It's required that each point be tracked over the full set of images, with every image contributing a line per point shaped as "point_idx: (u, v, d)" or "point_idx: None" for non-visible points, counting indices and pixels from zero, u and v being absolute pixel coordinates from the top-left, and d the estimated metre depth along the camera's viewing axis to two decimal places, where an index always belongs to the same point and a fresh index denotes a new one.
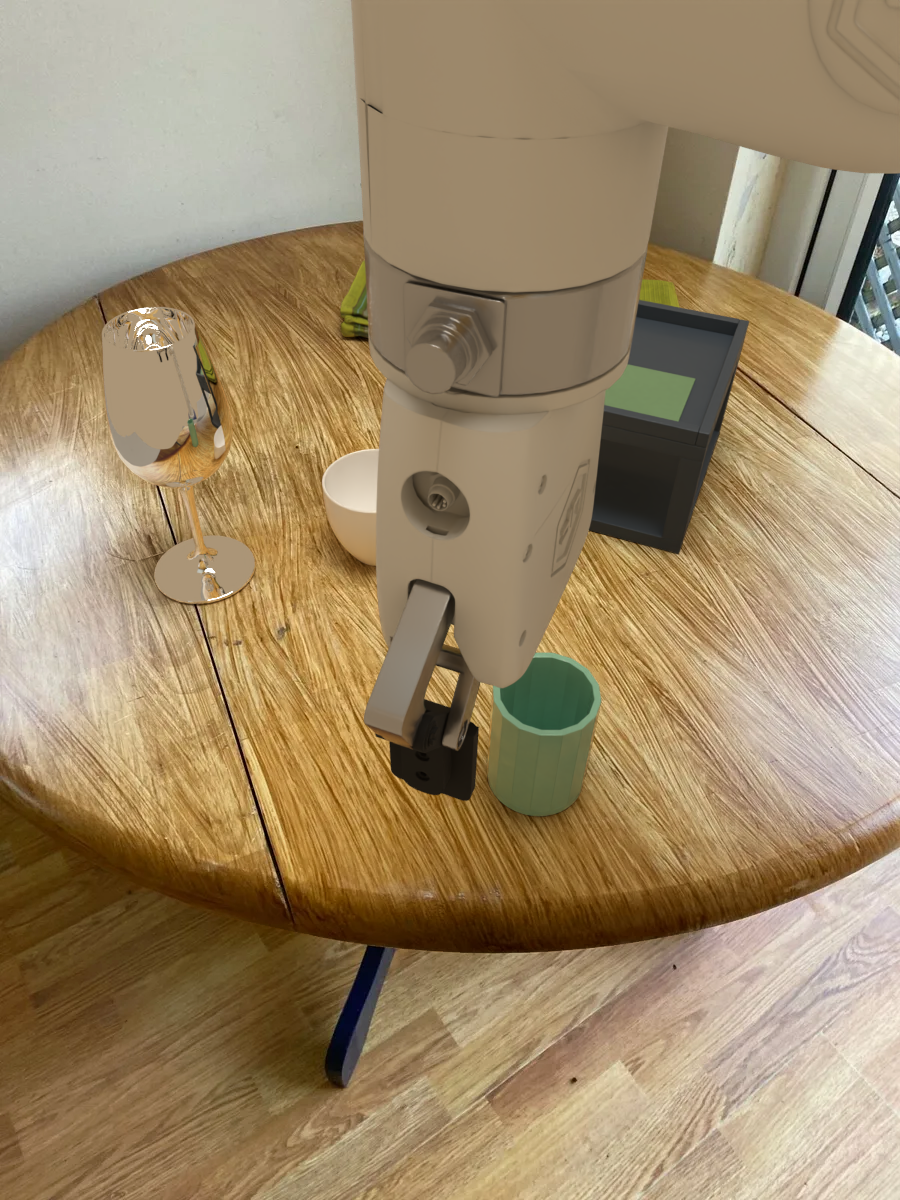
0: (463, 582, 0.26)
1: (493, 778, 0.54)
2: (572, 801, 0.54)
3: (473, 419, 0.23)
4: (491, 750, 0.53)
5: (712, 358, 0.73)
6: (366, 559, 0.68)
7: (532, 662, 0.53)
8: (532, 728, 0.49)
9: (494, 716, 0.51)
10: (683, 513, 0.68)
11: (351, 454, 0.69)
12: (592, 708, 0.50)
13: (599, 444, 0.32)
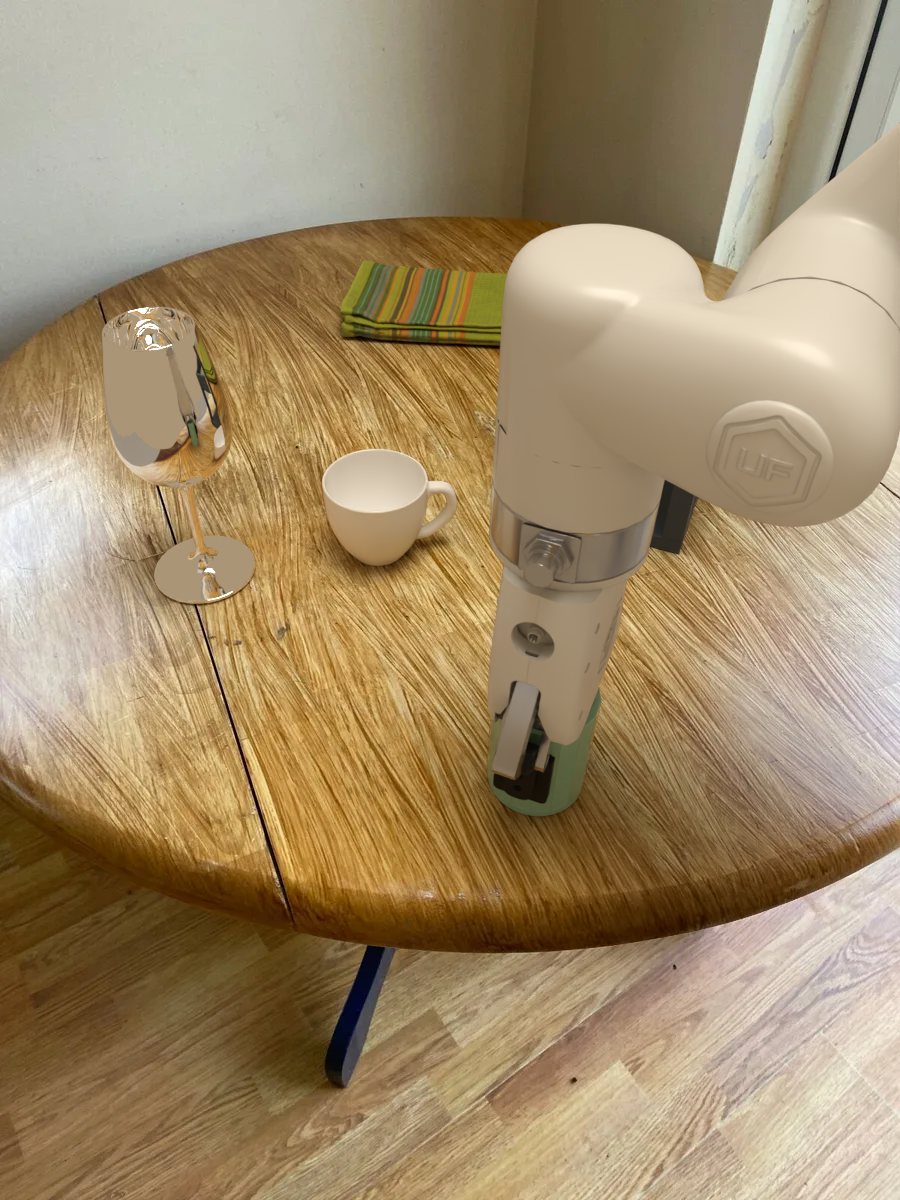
0: (547, 684, 0.42)
1: None
2: (572, 801, 0.54)
3: (558, 595, 0.40)
4: (491, 750, 0.53)
5: None
6: (366, 560, 0.68)
7: None
8: (532, 728, 0.49)
9: None
10: (683, 513, 0.68)
11: (351, 454, 0.69)
12: (592, 708, 0.50)
13: None
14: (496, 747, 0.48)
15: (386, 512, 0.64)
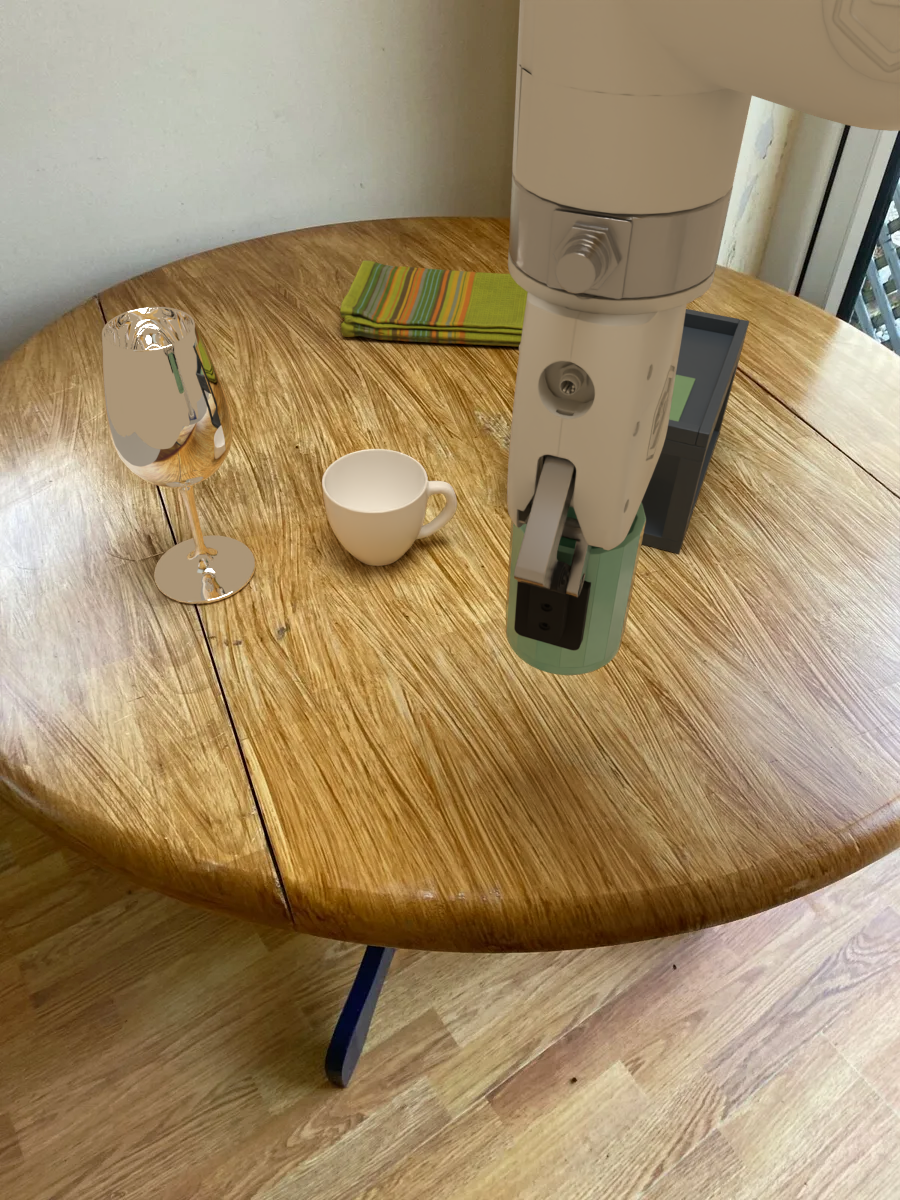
0: (585, 454, 0.33)
1: (513, 630, 0.45)
2: (609, 658, 0.45)
3: (600, 318, 0.31)
4: (511, 592, 0.44)
5: (712, 358, 0.73)
6: (366, 560, 0.68)
7: None
8: (562, 547, 0.40)
9: (514, 542, 0.42)
10: (683, 513, 0.68)
11: (351, 454, 0.69)
12: (635, 526, 0.40)
13: None
14: None
15: (386, 512, 0.64)
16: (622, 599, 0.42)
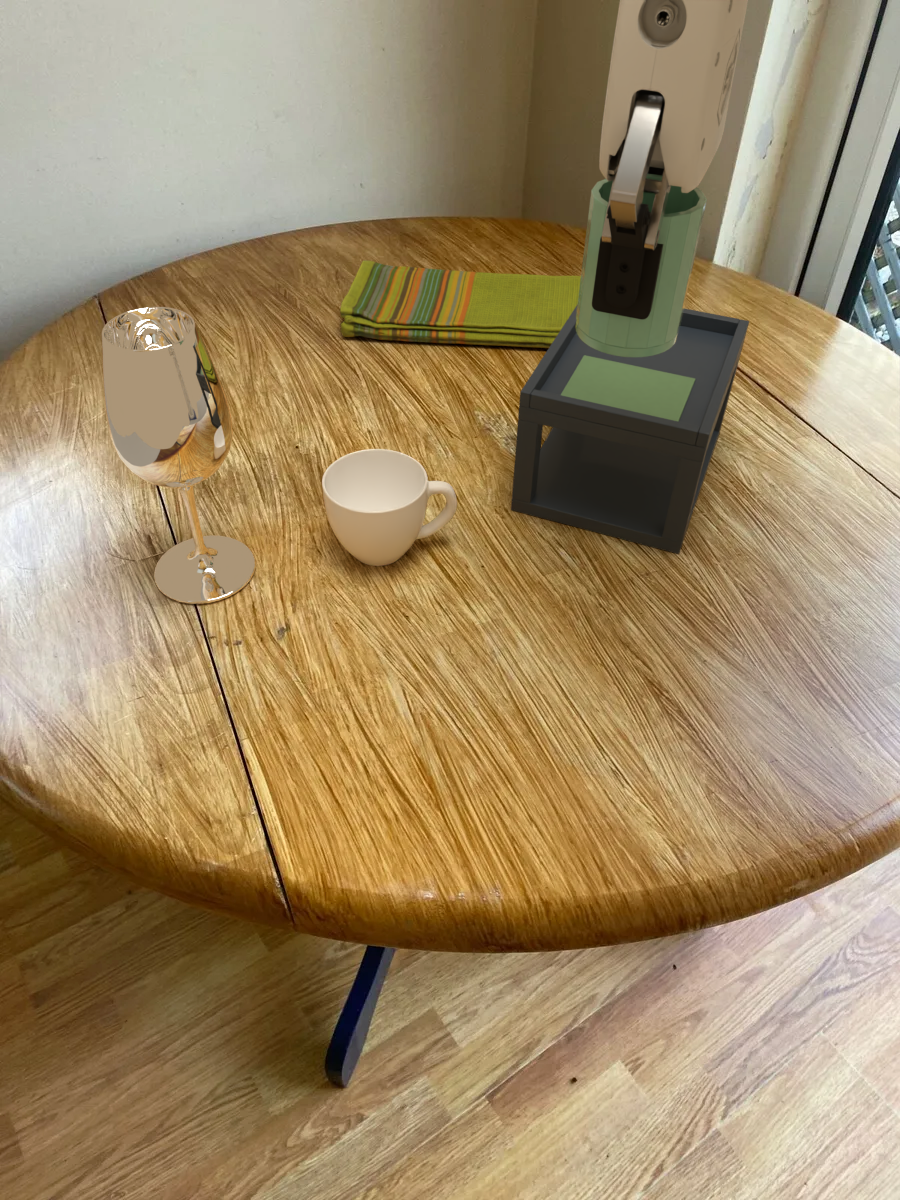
0: (673, 84, 0.40)
1: (586, 319, 0.52)
2: (668, 345, 0.52)
3: None
4: (586, 279, 0.51)
5: (712, 358, 0.73)
6: (366, 560, 0.68)
7: None
8: None
9: (594, 221, 0.48)
10: (683, 513, 0.68)
11: (351, 454, 0.69)
12: (698, 202, 0.47)
13: None
14: (604, 224, 0.46)
15: (386, 512, 0.64)
16: (684, 277, 0.49)
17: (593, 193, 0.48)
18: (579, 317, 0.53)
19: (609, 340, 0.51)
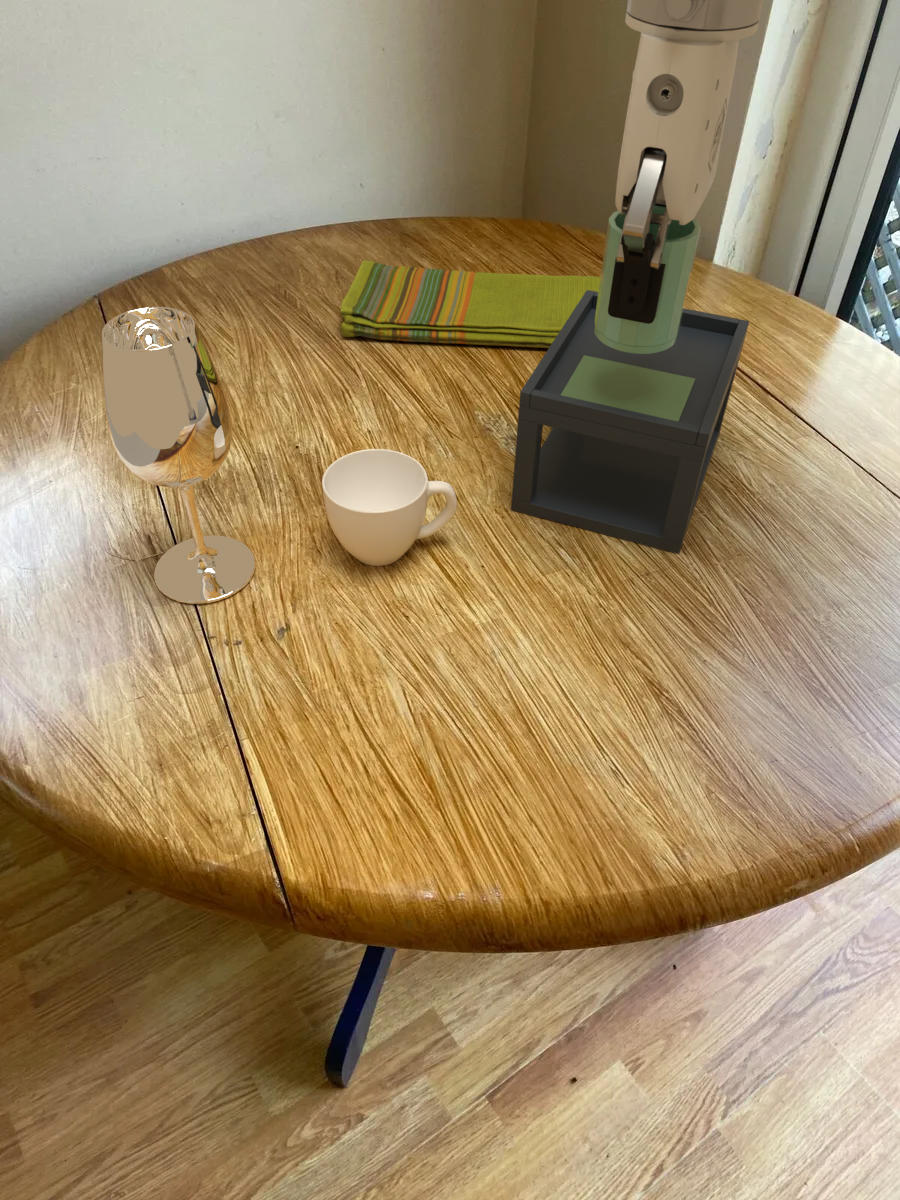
0: (673, 143, 0.52)
1: (603, 322, 0.64)
2: (669, 344, 0.64)
3: (689, 43, 0.49)
4: (603, 290, 0.63)
5: (712, 358, 0.73)
6: (366, 560, 0.68)
7: None
8: None
9: (610, 244, 0.60)
10: (683, 513, 0.68)
11: (351, 454, 0.69)
12: (694, 230, 0.59)
13: None
14: (618, 248, 0.58)
15: (386, 512, 0.64)
16: (682, 290, 0.61)
17: (610, 222, 0.60)
18: (597, 321, 0.65)
19: (621, 340, 0.63)
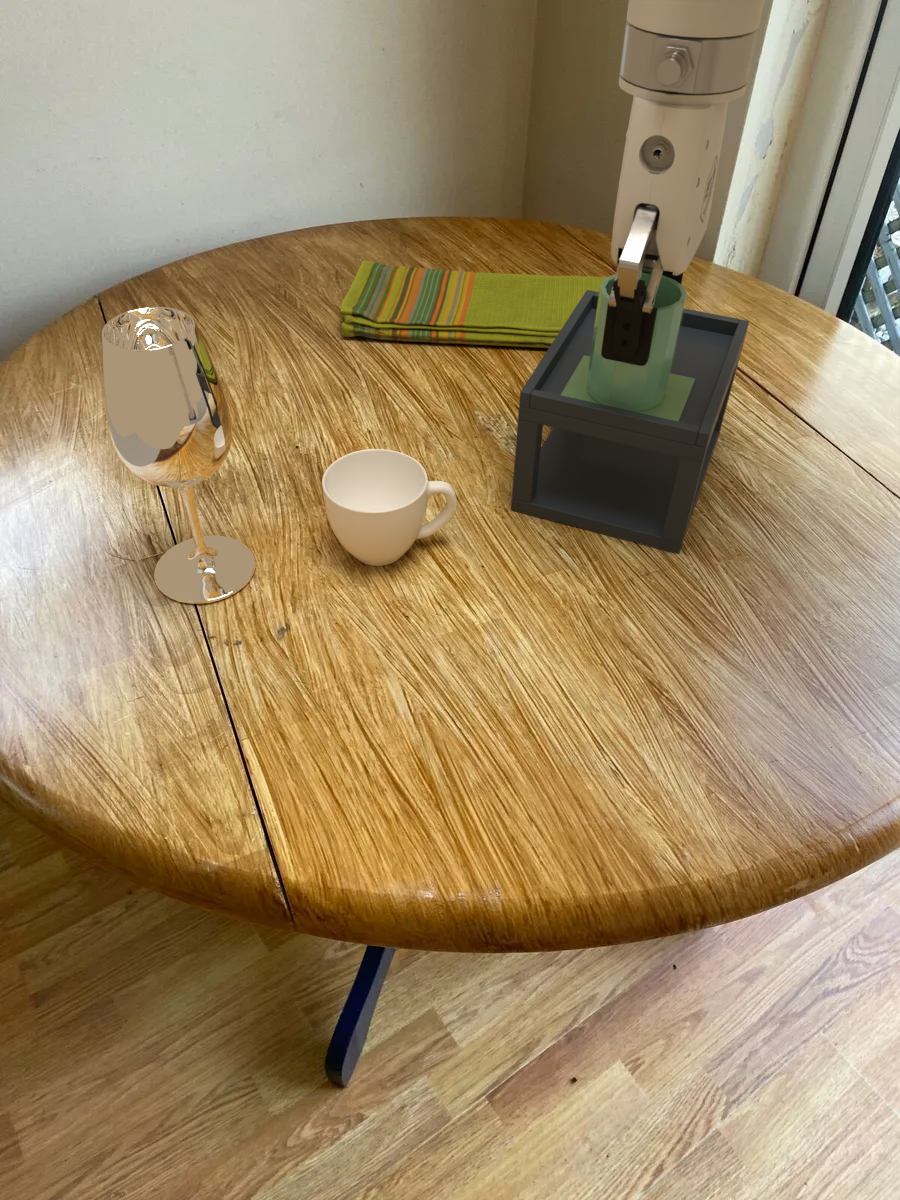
0: (665, 200, 0.54)
1: (595, 381, 0.67)
2: (658, 402, 0.67)
3: (679, 106, 0.52)
4: (595, 352, 0.66)
5: (712, 358, 0.73)
6: (366, 559, 0.68)
7: None
8: None
9: (601, 310, 0.64)
10: (683, 513, 0.68)
11: (351, 454, 0.69)
12: (681, 298, 0.63)
13: None
14: (611, 290, 0.58)
15: (386, 512, 0.64)
16: (670, 352, 0.65)
17: (601, 289, 0.64)
18: (589, 379, 0.68)
19: (612, 398, 0.67)
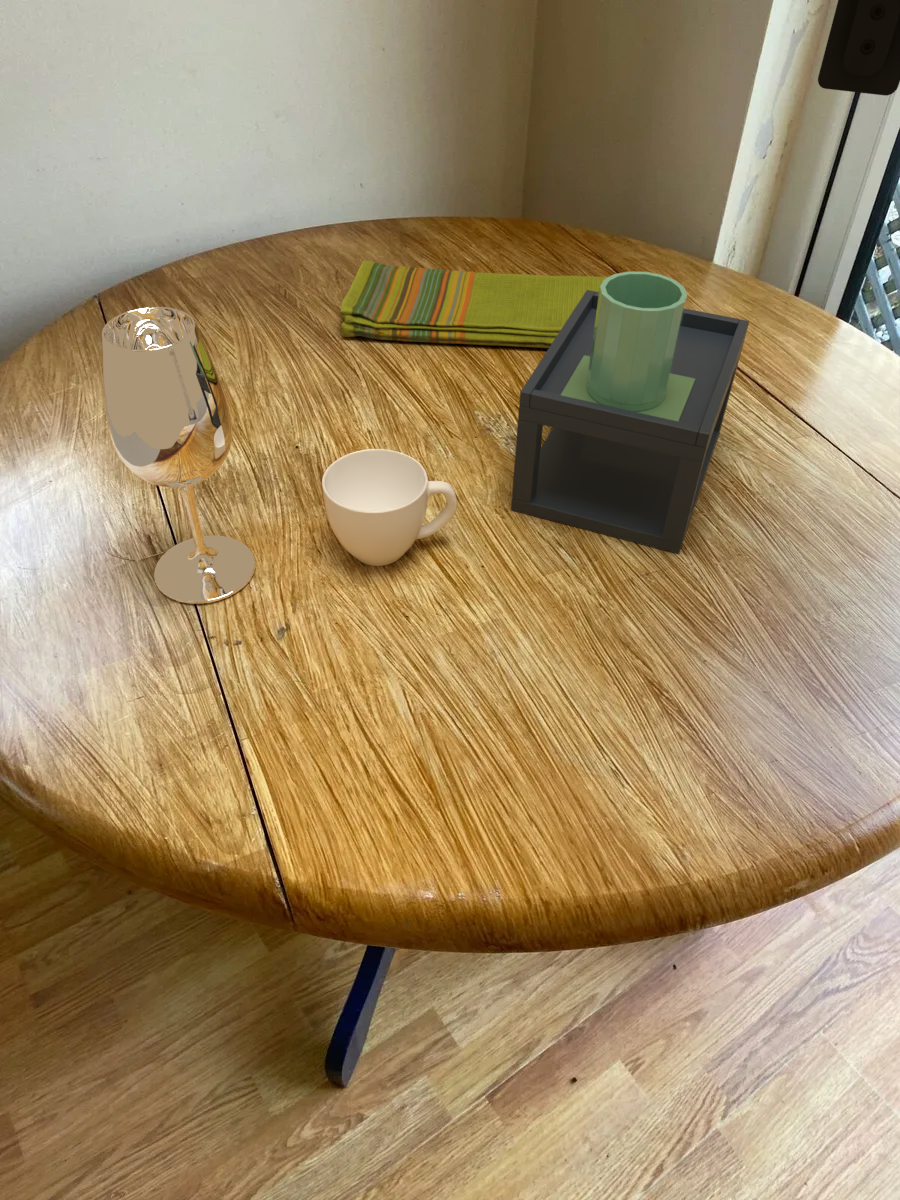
0: None
1: (595, 381, 0.67)
2: (658, 402, 0.67)
3: None
4: (595, 352, 0.66)
5: (712, 358, 0.73)
6: (366, 560, 0.68)
7: (628, 279, 0.66)
8: (635, 307, 0.62)
9: (601, 310, 0.64)
10: (683, 513, 0.68)
11: (351, 454, 0.69)
12: (681, 298, 0.63)
13: None
14: None
15: (386, 512, 0.64)
16: (670, 352, 0.65)
17: (601, 289, 0.64)
18: (589, 379, 0.68)
19: (612, 398, 0.67)
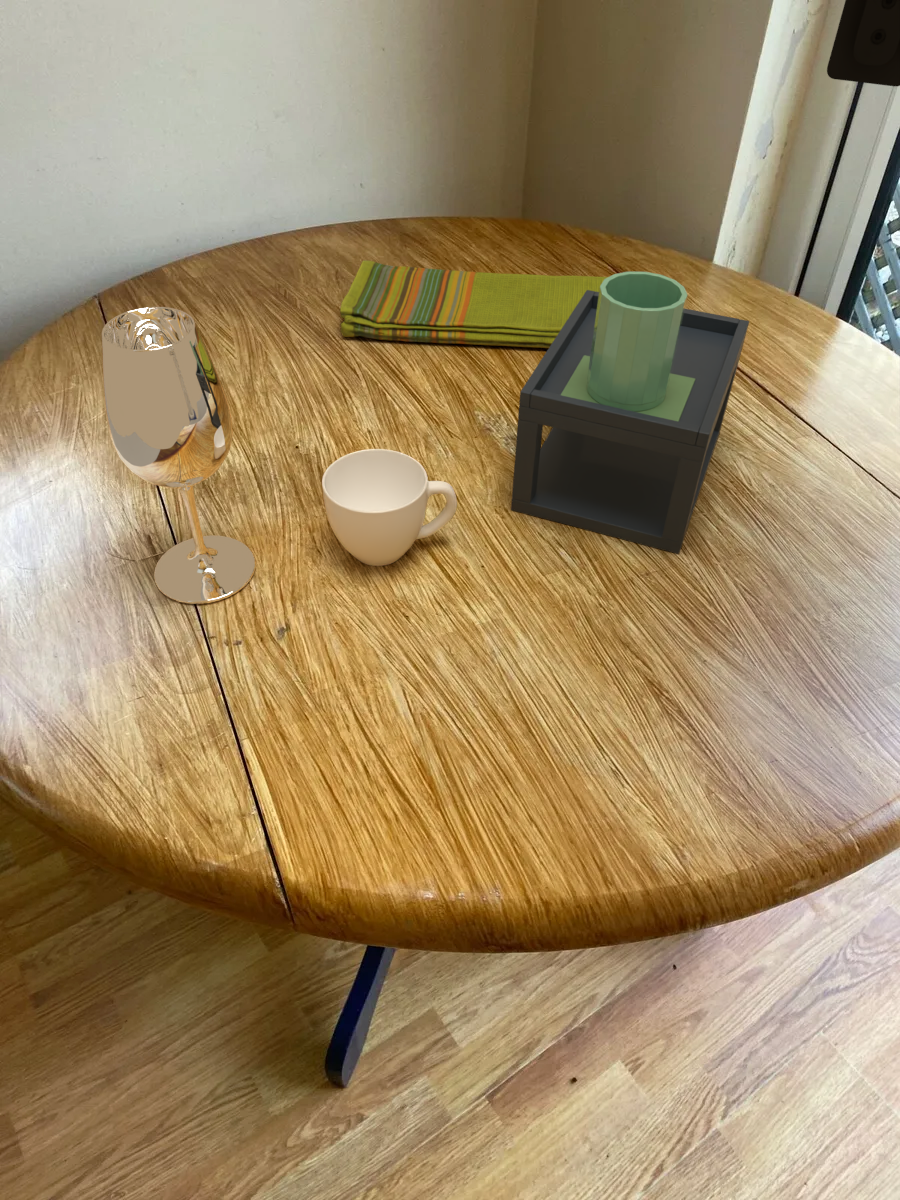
0: None
1: (595, 381, 0.67)
2: (658, 402, 0.67)
3: None
4: (595, 352, 0.66)
5: (712, 358, 0.73)
6: (366, 560, 0.68)
7: (628, 279, 0.66)
8: (635, 307, 0.62)
9: (601, 310, 0.64)
10: (683, 513, 0.68)
11: (351, 454, 0.69)
12: (681, 298, 0.63)
13: None
14: None
15: (386, 512, 0.64)
16: (670, 352, 0.65)
17: (601, 289, 0.64)
18: (589, 379, 0.68)
19: (612, 398, 0.67)
